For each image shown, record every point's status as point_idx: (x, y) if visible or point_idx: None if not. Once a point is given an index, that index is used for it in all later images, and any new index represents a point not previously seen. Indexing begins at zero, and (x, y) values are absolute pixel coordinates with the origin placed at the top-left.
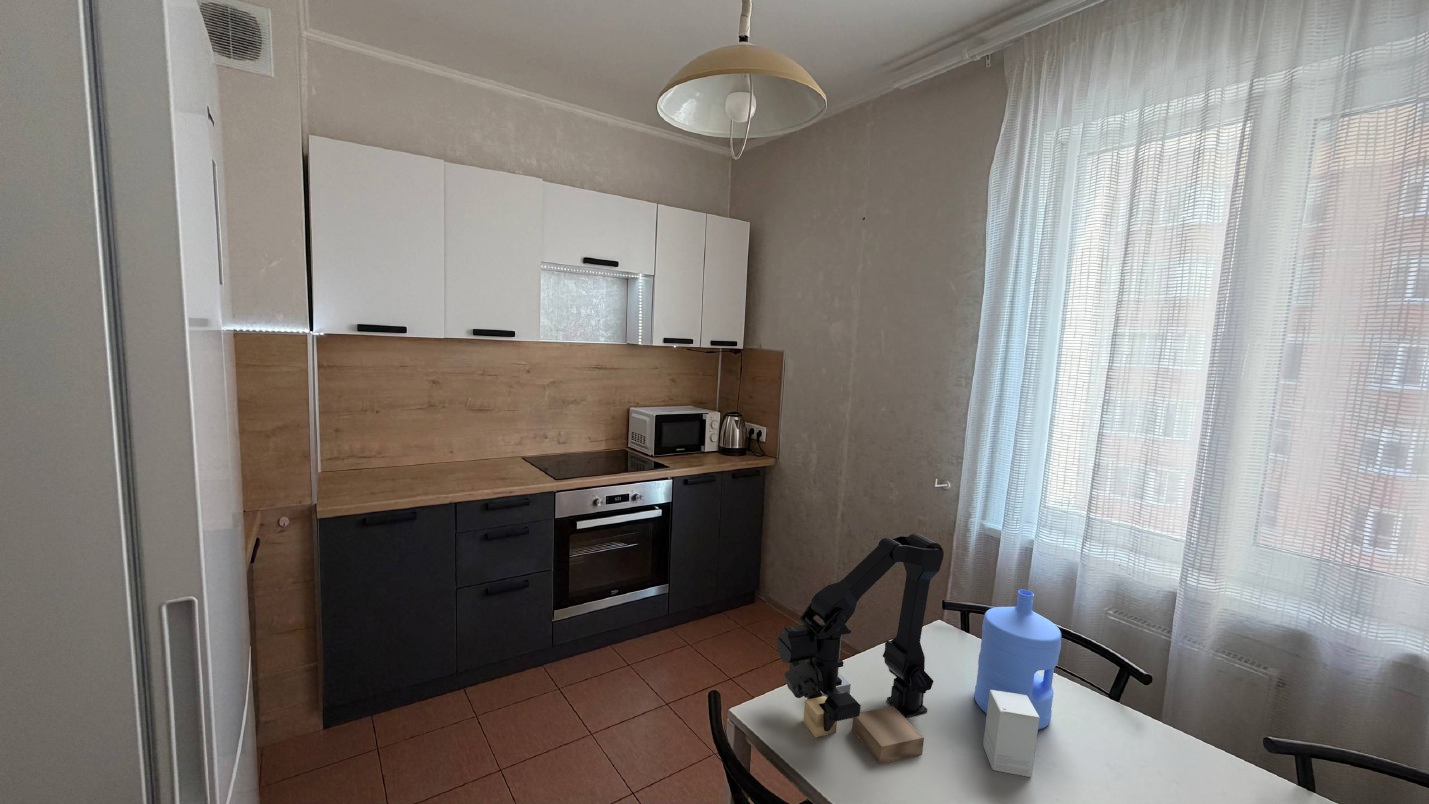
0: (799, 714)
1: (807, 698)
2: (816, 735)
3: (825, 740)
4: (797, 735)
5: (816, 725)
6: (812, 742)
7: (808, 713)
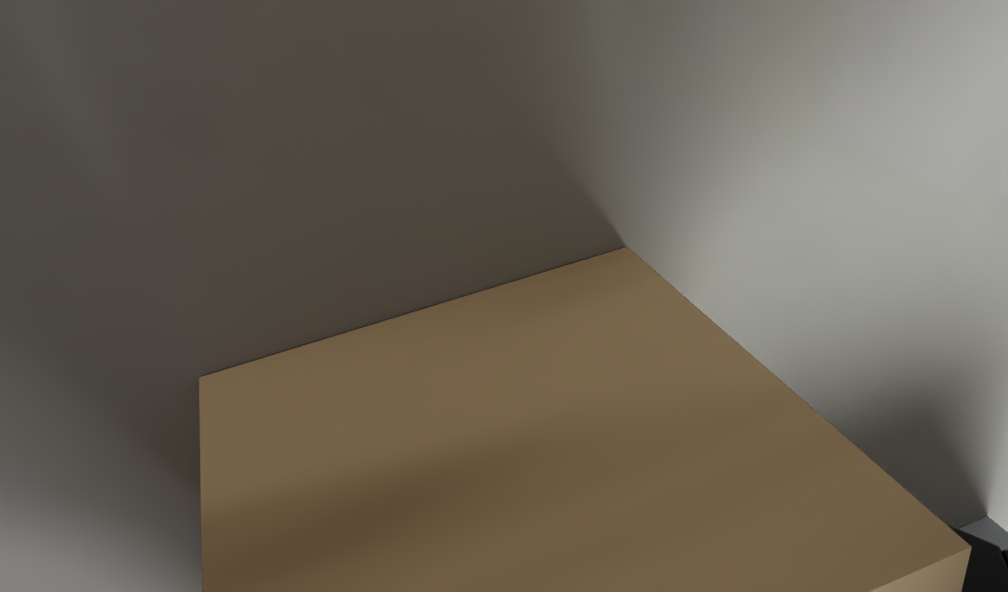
0: (791, 225)
1: (991, 553)
2: (203, 412)
3: (119, 522)
4: (260, 21)
5: (205, 559)
6: (32, 294)
7: (606, 456)
